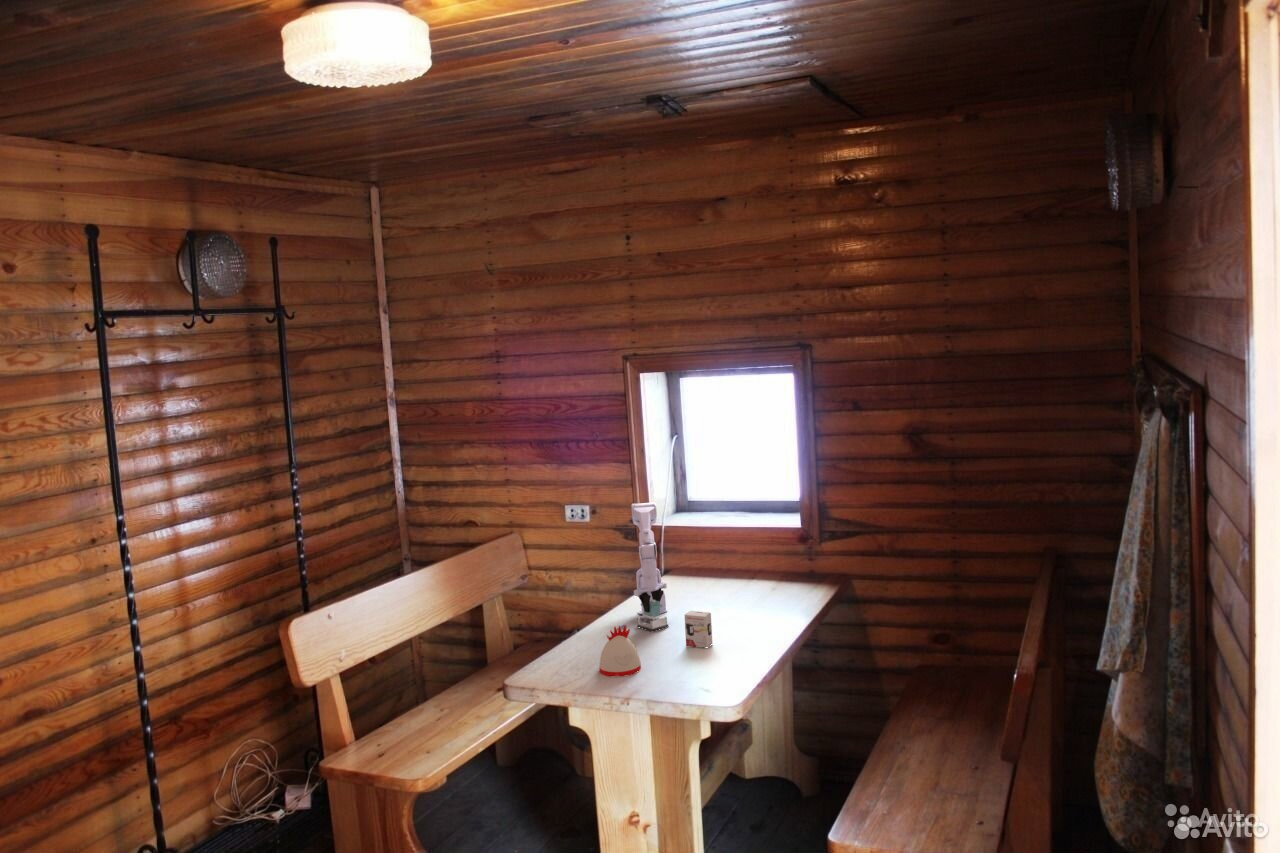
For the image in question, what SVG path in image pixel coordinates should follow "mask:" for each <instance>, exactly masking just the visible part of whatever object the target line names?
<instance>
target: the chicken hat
mask: <svg viewBox="0 0 1280 853" xmlns="http://www.w3.org/2000/svg"><path fill="white" fill-rule="evenodd" d="M613 628H614V629H613V631H612V630H611V629H610V630H609V633H610V635H611V636H609V635H608V634H607V633H606V634H605V635H606V637H607V641H606V642H605V644H604V646H603V647H602V650H601V655H600V659H599V665H598V667H599V672H600V674H601V675H603V676H606V677H612V676H621V677H626V676H625V675H628V676H631V675H630V674H632V675H634V674H633V673H635V672H637V671H639V670H640V669H642V665H641V659H640V658H641V657H640V656H639V654H638V649H636V647H637V646H636V645H635V644H634V643H633V642H632V641H631V640H630V639H629V638H628V637H629V634H630V631H631V629H630V627H628V629H627V628H626V625H623V628H622V629H621V626H620V625H618V629H617V627H616V626H614V627H613ZM640 671H641V670H640ZM640 671H639V672H640ZM637 673H638V672H637ZM635 674H636V673H635Z"/></svg>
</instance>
